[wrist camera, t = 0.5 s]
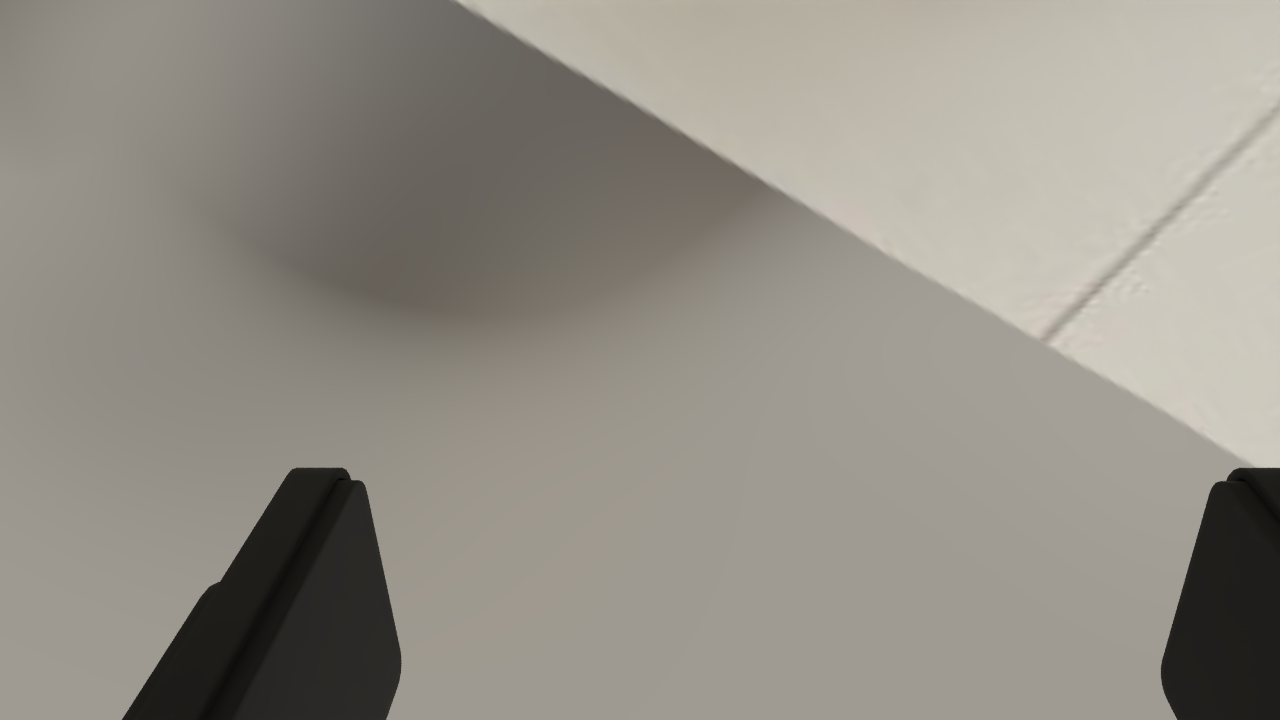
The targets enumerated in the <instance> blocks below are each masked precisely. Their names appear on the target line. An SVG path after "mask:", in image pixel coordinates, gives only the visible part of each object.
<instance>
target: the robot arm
mask: <svg viewBox="0 0 1280 720" xmlns="http://www.w3.org/2000/svg"><path fill="white" fill-rule="evenodd" d="M400 674H401V652H400V647H399V642H398V637H397V632H396V627H395V623H394V618H393V613H392V608H391V604H390V599H389V594H388V589H387V585H386V580H385V575H384V571H383V566H382V561H381V557H380V552H379V547H378V542H377V537H376V533H375V528H374V523H373V519H372V514H371V509H370V504H369V500H368V495H367V491H366V487H365V485H364V483H363V482H362V481H359V480H355V481H354V480H351V478H350V475H349V473H348V472H347V470H345V469H343V468H295V469H292V470H291V471H290V472H289V473H288V475H287V476H286V478H285V479H284V481H283V483H282V484H281V486H280V487H279V489H278V491H277V492H276V494H275V495H274V497H273V498H272V500H271V502H270V503H269V505H268V506H267V508H266V510H265V511H264V513H263V515H262V516H261V518H260V519H259V521H258V522H257V524H256V526H255V527H254V529H253V530H252V532H251V534H250V535H249V537H248V538H247V540H246V541H245V543H244V545H243V546H242V548H241V549H240V551H239V553H238V554H237V556H236V557H235V559H234V561H233V562H232V564H231V565H230V567H229V568H228V570H227V572H226V573H225V575H224V577H223V578H222V580H221V581H220V582H218V583H216V584H214V585H212V586H210V587H209V588H208V589H207V590H206V591H205V593H204V594H203V595H202V596H201V598H200V599H199V600H198V602H197V604H196V605H195V607H194V608H193V610H192V611H191V613H190V615H189V616H188V618H187V619H186V621H185V622H184V624H183V625H182V627H181V629H180V630H179V632H178V633H177V635H176V636H175V638H174V639H173V641H172V643H171V644H170V646H169V647H168V649H167V650H166V652H165V653H164V655H163V657H162V658H161V660H160V661H159V663H158V664H157V666H156V668H155V669H154V671H153V672H152V674H151V675H150V677H149V679H148V680H147V682H146V683H145V685H144V686H143V688H142V690H141V691H140V692H139V694H138V696H137V697H136V699H135V700H134V702H133V704H132V705H131V707H130V708H129V710H128V711H127V713H126V714H125V716H124V717H123V719H122V720H386V718H387V715H388V713H389V710H390V707H391V704H392V701H393V698H394V696H395V693H396V690H397V687H398V684H399V680H400ZM1161 679H1162V686H1163V690H1164V693H1165V696H1166V698H1167V700H1168V702H1169V704H1170V706H1171V708H1172V710H1173V712H1174V714H1175V716H1176V718H1177V720H1280V468H1238V469H1235V470H1233V471H1232V472H1231V474H1230V475H1229V476H1228V478H1227V481H1224V482H1223V481H1221V482H1217V483H1215V485H1214V486H1213V487H1212V489H1211V491H1210V494H1209V498H1208V501H1207V504H1206V508H1205V511H1204V515H1203V518H1202V522H1201V525H1200V529H1199V533H1198V536H1197V539H1196V543H1195V547H1194V550H1193V554H1192V557H1191V561H1190V564H1189V568H1188V571H1187V575H1186V578H1185V582H1184V585H1183V589H1182V593H1181V596H1180V599H1179V603H1178V606H1177V610H1176V614H1175V617H1174V621H1173V624H1172V628H1171V631H1170V635H1169V638H1168V642H1167V646H1166V649H1165V653H1164V656H1163V660H1162V665H1161Z"/></svg>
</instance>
